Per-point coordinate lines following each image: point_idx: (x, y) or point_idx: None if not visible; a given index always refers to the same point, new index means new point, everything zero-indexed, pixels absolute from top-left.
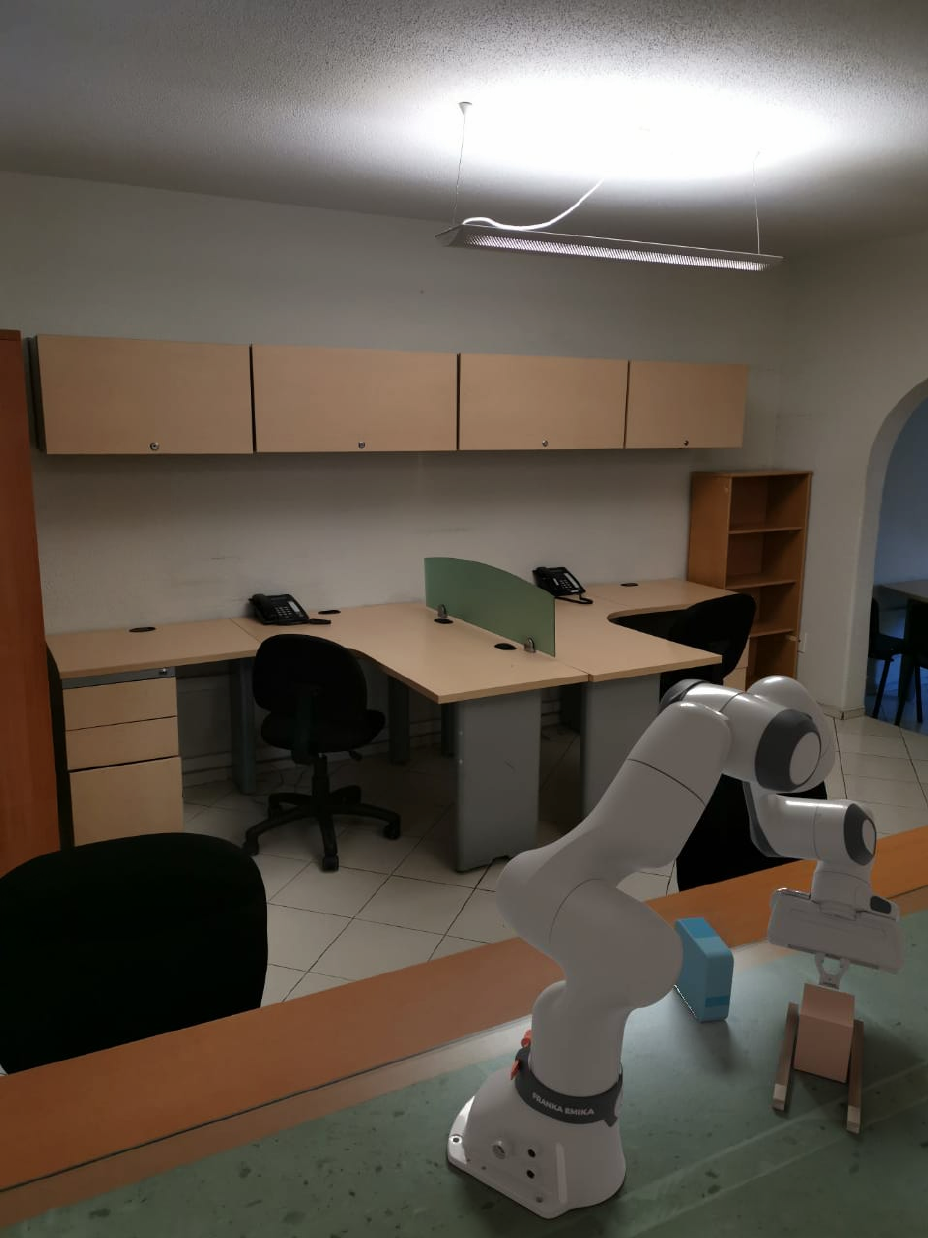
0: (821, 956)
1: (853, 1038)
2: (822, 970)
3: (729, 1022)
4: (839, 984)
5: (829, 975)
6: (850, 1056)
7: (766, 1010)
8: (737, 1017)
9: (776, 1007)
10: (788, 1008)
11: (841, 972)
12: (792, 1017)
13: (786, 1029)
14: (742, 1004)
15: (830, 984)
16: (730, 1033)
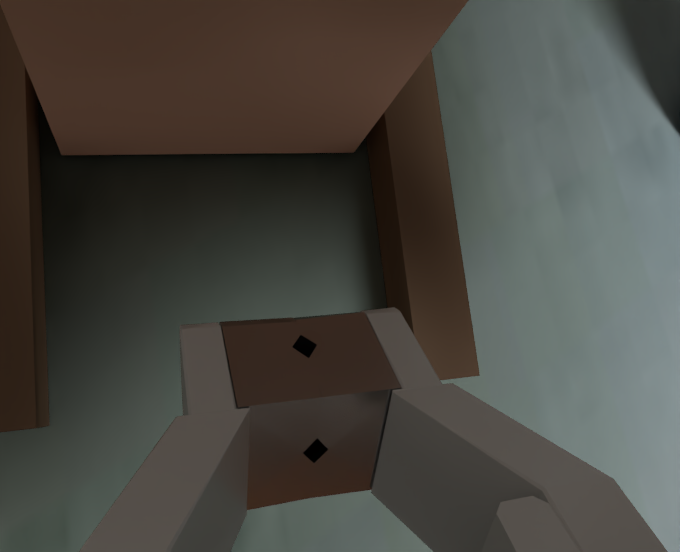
0: (562, 540)
1: (19, 185)
2: (430, 393)
3: (653, 119)
4: (181, 341)
5: (327, 378)
6: (37, 103)
7: (546, 311)
8: (638, 175)
9: (510, 371)
10: (465, 301)
11: (185, 452)
12: (423, 220)
13: (426, 89)
14: (655, 296)
15: (279, 321)
16: (623, 42)
